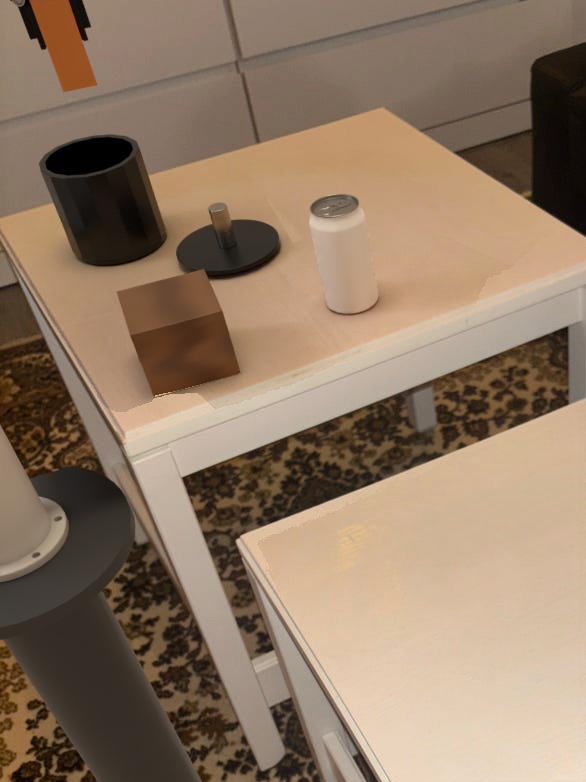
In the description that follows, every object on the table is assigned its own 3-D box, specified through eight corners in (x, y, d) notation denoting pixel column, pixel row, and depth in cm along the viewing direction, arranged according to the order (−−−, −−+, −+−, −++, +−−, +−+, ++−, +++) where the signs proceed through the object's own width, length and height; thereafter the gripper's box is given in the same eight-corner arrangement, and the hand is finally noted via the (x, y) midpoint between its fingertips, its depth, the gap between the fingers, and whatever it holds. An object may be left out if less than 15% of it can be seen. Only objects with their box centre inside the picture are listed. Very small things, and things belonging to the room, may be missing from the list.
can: (316, 304, 120) (294, 207, 111) (357, 282, 123) (339, 186, 114) (348, 322, 117) (328, 224, 108) (390, 300, 120) (374, 202, 111)
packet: (63, 92, 101) (26, -8, 94) (57, 69, 106) (21, -28, 99) (97, 85, 102) (63, -15, 95) (89, 62, 106) (56, -35, 99)
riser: (154, 398, 110) (129, 335, 104) (139, 353, 116) (116, 291, 110) (241, 374, 112) (222, 310, 105) (222, 331, 118) (203, 268, 112)
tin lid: (189, 289, 125) (174, 242, 120) (170, 243, 133) (155, 197, 129) (292, 262, 127) (281, 215, 123) (267, 218, 136) (256, 173, 131)
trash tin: (79, 273, 129) (44, 186, 121) (68, 232, 137) (34, 148, 129) (173, 250, 132) (145, 162, 123) (157, 211, 140) (130, 126, 131)
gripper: (-116, -164, 83) (-17, 70, 97) (80, -196, 86) (149, 36, 100) (-114, -180, 88) (-20, 46, 102) (71, -210, 91) (138, 13, 105)
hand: (63, 39), depth 101 cm, fingers closed on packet, 3 cm apart
